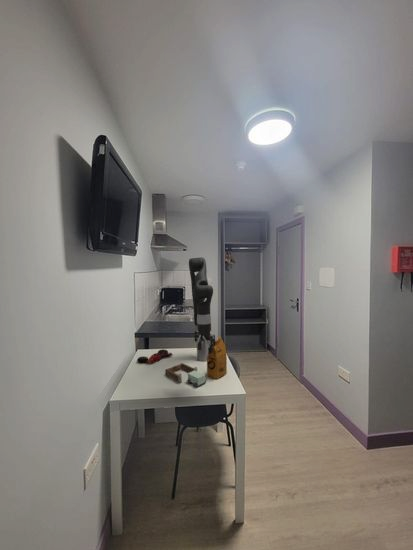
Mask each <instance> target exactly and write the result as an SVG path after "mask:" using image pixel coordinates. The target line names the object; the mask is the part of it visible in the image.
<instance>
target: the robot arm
mask: <svg viewBox="0 0 413 550" xmlns="http://www.w3.org/2000/svg"><path fill="white" fill-rule="evenodd" d="M188 268H189V269H188V270H189V275H190V276H189V277H190V282H191V293H192V294H191V298H192V303H193V304H192V305H193V321H194V325H195V326H196V327H197V328H196V329H197V330H195V331H194V342H195V343H196V359H197V360H198V361H200V362H207V355H208V354H212V352H213V346H215V341H216V335H215V334H211V331H212V317H211V316H212V315H211V302H212V298H213V295H214V288H213V286H212V285H210V284H209V280H208V278H207V277H208V275H207V261H206V259H205V258H204V257H192V258H189V260H188ZM196 273H197V274H196Z"/></svg>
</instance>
